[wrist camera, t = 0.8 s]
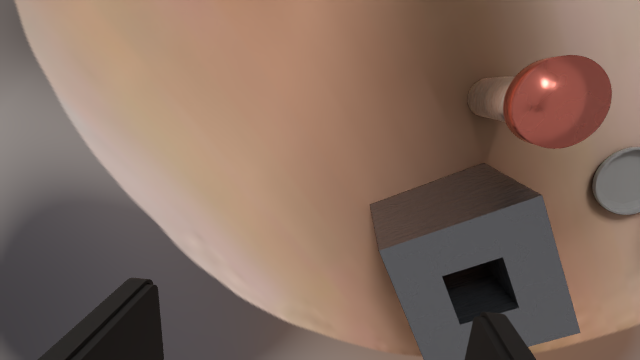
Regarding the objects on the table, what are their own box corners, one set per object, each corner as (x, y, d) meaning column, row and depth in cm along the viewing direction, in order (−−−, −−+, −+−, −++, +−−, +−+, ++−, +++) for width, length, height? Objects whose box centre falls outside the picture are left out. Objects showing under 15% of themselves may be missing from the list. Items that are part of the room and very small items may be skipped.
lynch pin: (509, 56, 31) (601, 39, 20) (525, 113, 32) (619, 128, 21) (448, 81, 32) (503, 78, 21) (466, 136, 33) (527, 161, 22)
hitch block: (484, 162, 34) (542, 195, 24) (515, 264, 36) (580, 332, 26) (369, 204, 36) (378, 250, 26) (407, 298, 38) (429, 372, 28)
